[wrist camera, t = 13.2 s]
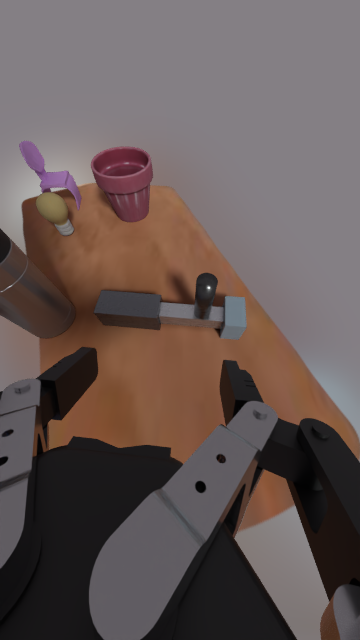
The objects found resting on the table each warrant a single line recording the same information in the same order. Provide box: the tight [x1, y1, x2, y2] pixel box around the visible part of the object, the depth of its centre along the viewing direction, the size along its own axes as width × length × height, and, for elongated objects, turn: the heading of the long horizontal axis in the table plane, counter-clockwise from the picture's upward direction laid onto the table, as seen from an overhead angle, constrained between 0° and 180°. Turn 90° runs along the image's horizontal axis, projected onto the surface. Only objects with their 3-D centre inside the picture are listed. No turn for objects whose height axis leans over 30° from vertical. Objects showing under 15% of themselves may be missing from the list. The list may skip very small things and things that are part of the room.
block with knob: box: [158, 273, 225, 329], centre depth 33 cm, size 18×3×12 cm, turn 84°
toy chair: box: [19, 141, 81, 210], centre depth 52 cm, size 8×9×15 cm
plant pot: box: [91, 147, 153, 222], centre depth 51 cm, size 14×14×13 cm
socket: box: [220, 296, 246, 340], centre depth 36 cm, size 4×6×6 cm, turn 174°
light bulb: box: [36, 192, 74, 236], centre depth 49 cm, size 6×6×10 cm
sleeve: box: [94, 290, 162, 330], centre depth 38 cm, size 12×5×5 cm, turn 84°
